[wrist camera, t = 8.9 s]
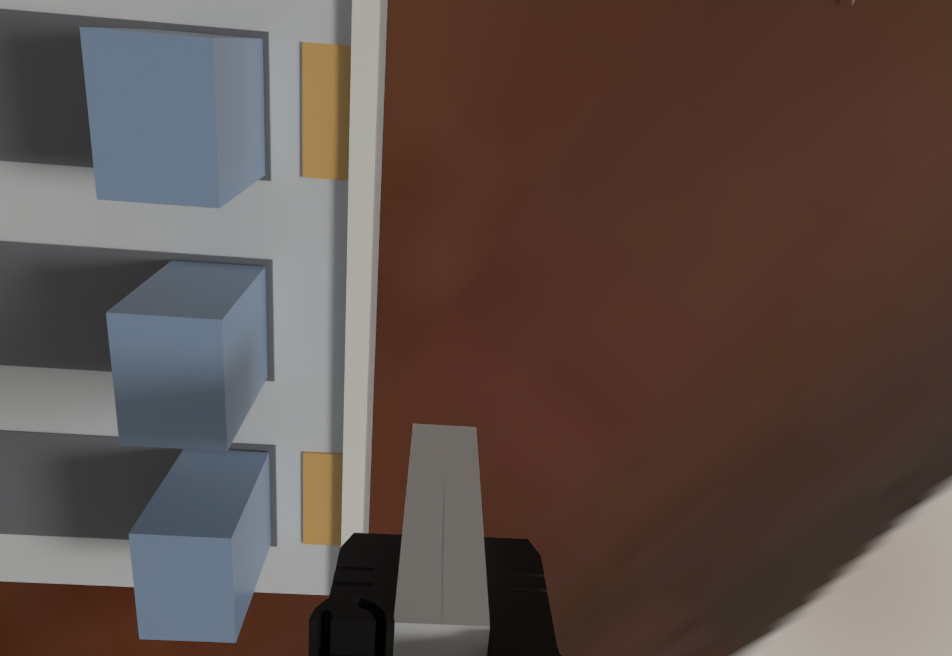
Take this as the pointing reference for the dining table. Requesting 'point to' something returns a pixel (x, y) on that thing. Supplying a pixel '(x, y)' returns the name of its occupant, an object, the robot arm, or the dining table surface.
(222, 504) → the tab
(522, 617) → the robot arm
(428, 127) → the dining table surface
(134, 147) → the tab
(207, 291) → the tab
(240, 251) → the switch bank
